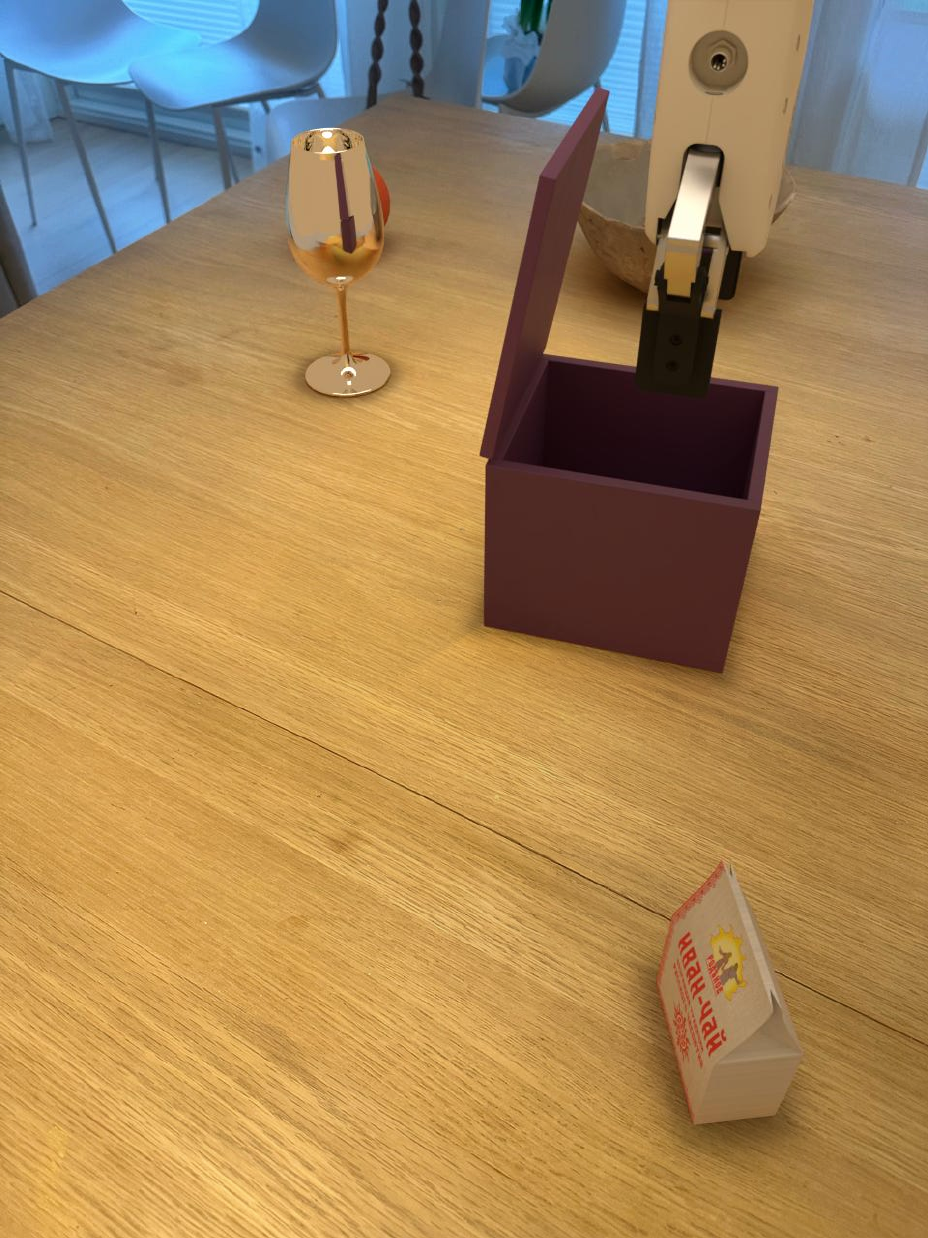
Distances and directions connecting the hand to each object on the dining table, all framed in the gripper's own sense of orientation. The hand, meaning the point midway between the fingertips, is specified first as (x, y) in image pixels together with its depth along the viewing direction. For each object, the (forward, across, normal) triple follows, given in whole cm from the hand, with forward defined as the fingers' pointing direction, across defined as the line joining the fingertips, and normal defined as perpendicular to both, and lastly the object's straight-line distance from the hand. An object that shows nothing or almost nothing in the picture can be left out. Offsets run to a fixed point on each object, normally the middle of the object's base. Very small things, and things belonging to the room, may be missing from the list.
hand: (687, 339), depth 50 cm
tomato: (+23, +54, +42) cm, 72 cm away
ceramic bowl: (+23, +57, +8) cm, 62 cm away
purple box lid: (+2, +9, +9) cm, 12 cm away
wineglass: (+23, +29, +31) cm, 49 cm away
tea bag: (+24, -22, -8) cm, 33 cm away
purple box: (+23, +9, +3) cm, 25 cm away
